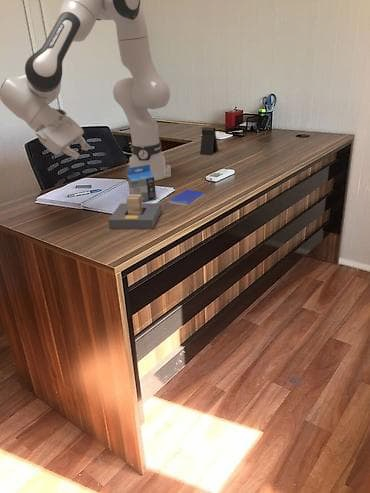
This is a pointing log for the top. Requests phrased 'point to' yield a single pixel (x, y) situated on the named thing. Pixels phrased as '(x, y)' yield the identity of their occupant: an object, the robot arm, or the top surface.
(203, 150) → the phone stand
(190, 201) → the hard drive
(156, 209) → the block
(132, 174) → the label tape box
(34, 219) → the top surface
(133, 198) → the birch peg
